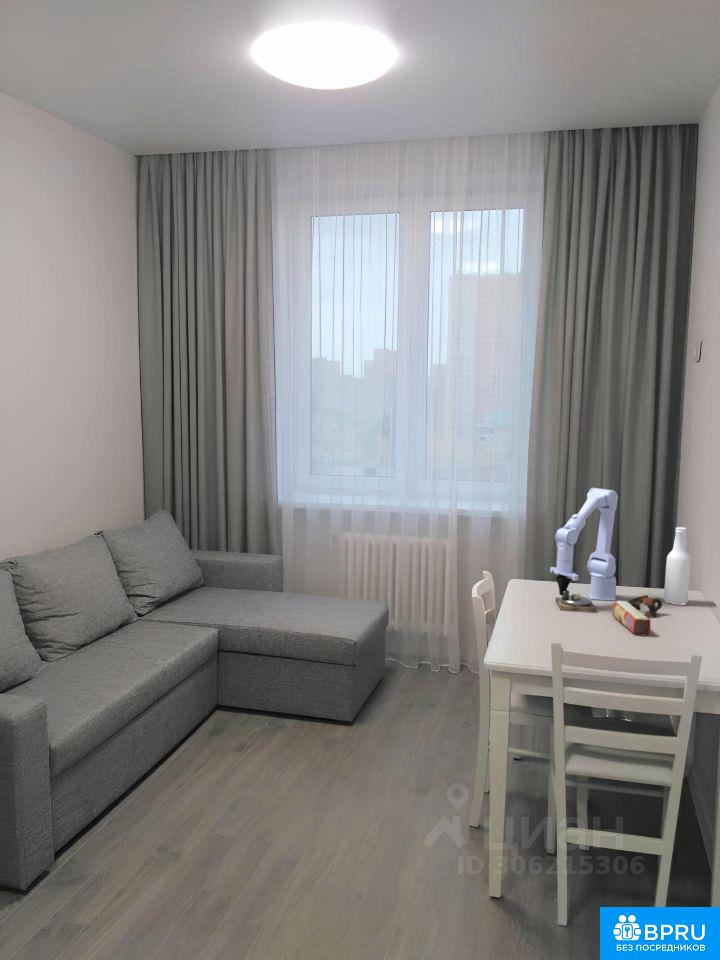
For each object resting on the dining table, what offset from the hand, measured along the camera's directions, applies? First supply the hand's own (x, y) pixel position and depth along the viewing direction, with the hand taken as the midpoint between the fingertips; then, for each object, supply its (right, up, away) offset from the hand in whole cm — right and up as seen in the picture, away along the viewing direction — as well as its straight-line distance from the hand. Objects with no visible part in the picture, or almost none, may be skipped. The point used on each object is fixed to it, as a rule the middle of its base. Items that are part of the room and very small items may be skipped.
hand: (562, 594), depth 293 cm
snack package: (+18, -8, -23) cm, 30 cm away
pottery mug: (+29, -6, -7) cm, 30 cm away
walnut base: (+5, -5, 0) cm, 7 cm away
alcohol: (+47, -5, +11) cm, 49 cm away
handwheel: (+5, -3, 0) cm, 6 cm away
